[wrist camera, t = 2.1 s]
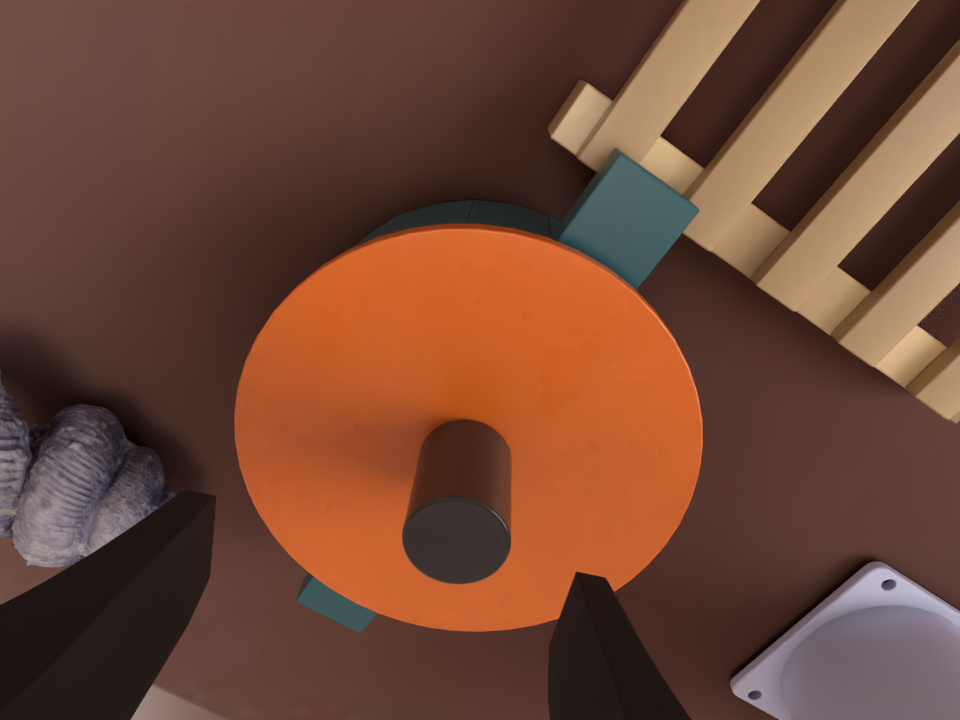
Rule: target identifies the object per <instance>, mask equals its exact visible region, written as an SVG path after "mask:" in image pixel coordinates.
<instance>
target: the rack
mask: <svg viewBox="0 0 960 720" xmlns="http://www.w3.org/2000/svg"><path fill="white" fill-rule="evenodd" d="M759 1H760V0H683V1H682V3H681V4H680V6H679V7H678V9H677V10H676V12H675V13H674V14H673V16H672V17H671V19H670V20H669V22H668V23H667V24H666V26H665V27H664V29H663V30H662V32H661V33H660V34H659V36H658V37H657V39H656V40H655V42H654V43H653V44H652V46H651V47H650V49H649V50H648V52H647V53H646V54H645V56H644V57H643V59H642V60H641V62H640V63H639V64H638V66H637V67H636V69H635V70H634V72H633V73H632V75H631V76H630V77H629V79H628V80H627V82H626V83H625V85H624V86H623V87H622V89H621V90H620V92H619V93H618V95H617V96H616V97H615V99H614V100H613V101H612V100H610V99H609V98H608V97H606V96H605V95H604V94H602V93H601V92H600V91H598V90H597V89H596V88H594V87H593V86H591V85H590V84H589V83H587V82H585V81H584V80H582V79H580V80H579V81H578V82H577V84H576V85H575V87H574V88H573V90H572V91H571V93H570V94H569V96H568V97H567V99H566V100H565V102H564V103H563V105H562V106H561V108H560V109H559V111H558V112H557V114H556V115H555V117H554V118H553V120H552V121H551V123H550V124H549V126H548V128H547V129H548V132H549V135H550V137H551V139H553V140H554V141H555V142H557V143H558V144H560V145H561V146H562V147H564V148H565V149H567V150H568V151H570V152H571V153H572V154H574V155H575V156H576V157H577V158H578V160H579V161H581V162H582V163H583V164H585V165H586V166H588V167H589V168H590V169H592V170H593V171H595V172H596V173H597V171H598V170H599V169H600V167H601V166H602V164H603V163H604V162H605V160H606V159H607V157H608V156H609V155H610V153H611V152H612V150H613V149H614V148H618V149H619V150H621V151H622V152H623V153H625V154H626V155H627V156H629V157H630V158H632V159H633V160H634V161H636V162H637V163H639V164H640V165H641V166H643V167H644V168H646V169H647V170H648V171H650V172H651V173H652V174H654V175H655V176H657V177H658V178H659V179H661V180H662V181H664V182H665V183H666V184H668V185H669V186H671V187H672V188H673V189H675V190H676V191H677V192H679V193H680V194H682V195H683V196H684V197H686V198H687V199H689V200H690V201H691V202H692V203H693V204H694V205H695V206H697V207H698V208H699V210H700V211H699V213H698V214H697V215H696V216H695V218H694V219H693V220H692V221H691V223H690V224H689V225H688V226H687V228H686V229H685V230H684V231H683V234H684V235H685V236H687V237H688V238H690V239H691V240H692V241H694V242H695V243H697V244H698V245H700V246H701V247H702V248H704V249H705V250H707V251H711V252H712V253H714V254H715V255H717V256H718V257H719V258H721V259H722V260H724V261H725V262H727V263H728V264H729V265H731V266H732V267H734V268H735V269H736V270H738V271H739V272H741V273H742V274H744V275H745V276H746V277H748V278H749V279H751V281H752V282H753V283H754V284H755V285H756V286H757V287H759V288H760V289H762V290H763V291H765V292H766V293H767V294H769V295H770V296H772V297H773V298H774V299H776V300H777V301H779V302H780V303H782V304H783V305H784V306H786V307H787V308H789V309H790V310H791V311H796V312H797V313H799V314H800V315H802V316H803V317H804V318H806V319H807V320H809V321H810V322H811V323H813V324H814V325H816V326H817V327H818V328H820V329H821V330H823V331H824V332H826V333H827V334H828V335H830V336H831V337H832V338H833V339H834V340H835V341H836V342H837V343H838V344H840V345H841V346H843V347H844V348H845V349H847V350H848V351H850V352H851V353H852V354H854V355H855V356H857V357H858V358H860V359H861V360H862V361H864V362H865V363H867V364H868V365H869V366H871V367H875V368H876V369H878V370H879V371H881V372H882V373H884V374H885V375H886V376H888V377H889V378H891V379H892V380H893V381H895V382H896V383H898V384H899V385H901V386H902V387H903V388H905V389H906V390H907V391H908V392H909V393H910V394H911V395H913V396H914V397H915V398H916V399H918V400H919V401H920V402H922V403H923V404H925V405H926V406H927V407H929V408H930V409H932V410H933V411H935V412H936V413H937V414H939V415H940V416H942V417H943V418H944V419H947V420H950V421H951V422H953V423H957V422H958V421H960V337H958V338H957V339H956V340H955V341H954V342H953V343H952V344H951V345H950V346H949V347H946V346H945V345H944V344H942V343H941V342H940V341H938V340H937V339H935V338H934V337H933V336H931V335H930V334H929V333H927V332H926V331H925V330H923V329H922V328H920V327H919V326H918V325H917V324H918V323H919V322H920V321H921V320H922V319H923V318H924V317H925V316H926V315H927V314H928V313H929V312H931V311H932V310H933V309H934V308H935V307H936V306H937V305H938V304H939V303H940V302H941V301H942V300H943V299H944V298H945V297H946V296H947V295H948V294H949V293H950V292H951V291H952V290H953V289H954V288H955V287H956V286H957V285H958V284H959V283H960V201H959V202H958V203H957V204H956V205H955V206H954V207H953V208H952V209H951V210H950V211H949V212H948V213H947V214H946V215H945V216H944V217H943V218H942V219H941V220H940V221H939V222H938V223H937V224H936V226H935V227H934V228H933V229H932V230H931V231H930V232H929V233H928V234H927V235H926V236H925V237H924V238H923V239H922V240H921V241H920V242H919V243H918V244H917V245H916V246H915V247H914V248H913V249H912V250H911V251H910V253H909V254H908V255H907V256H906V257H905V258H904V259H903V260H902V261H901V262H900V263H899V264H898V265H897V266H896V267H895V268H894V269H893V270H892V271H891V272H890V273H889V274H888V275H887V276H886V277H885V279H884V280H883V281H882V282H881V283H880V284H879V285H878V286H877V287H876V288H875V289H874V290H873V291H870V290H869V289H867V288H866V287H865V286H863V285H862V284H861V283H859V282H858V281H857V280H855V279H854V278H852V277H851V276H850V275H848V274H847V273H846V272H844V271H843V270H842V269H840V268H839V267H838V266H837V265H838V264H839V263H840V262H841V261H842V260H843V259H844V258H845V257H846V255H847V254H848V253H849V252H850V251H851V250H852V249H853V248H854V247H855V246H856V245H857V244H858V242H859V241H860V240H861V239H862V238H863V237H864V236H865V235H866V234H867V233H868V232H869V231H870V229H871V228H872V227H873V226H874V225H875V224H876V223H877V222H878V221H879V220H880V219H881V218H882V216H883V215H884V214H885V213H886V212H887V211H888V210H889V209H890V208H891V207H892V206H893V205H894V203H895V202H896V201H897V200H898V199H899V198H900V197H901V196H902V195H903V194H904V193H905V192H906V190H907V189H908V188H909V187H910V186H911V185H912V184H913V183H914V182H915V181H916V180H917V179H918V177H919V176H920V175H921V174H922V173H923V172H924V171H925V170H926V169H927V168H928V167H929V166H930V164H931V163H932V162H933V161H934V160H935V159H936V158H937V157H938V156H939V155H940V154H941V153H942V151H943V150H944V149H945V148H946V147H947V146H948V145H949V144H950V143H951V142H952V141H953V140H954V138H955V137H956V136H957V135H958V134H959V133H960V39H959V40H958V41H957V42H956V43H955V45H954V46H953V47H952V48H951V49H950V50H949V51H948V53H947V54H946V55H945V56H944V57H943V58H942V59H941V61H940V62H939V63H938V64H937V65H936V66H935V67H934V69H933V70H932V71H931V72H930V73H929V74H928V75H927V77H926V78H925V79H924V80H923V81H922V82H921V83H920V85H919V86H918V87H917V88H916V89H915V90H914V91H913V93H912V94H911V95H910V96H909V97H908V98H907V100H906V101H905V102H904V103H903V104H902V105H901V106H900V108H899V109H898V110H897V111H896V112H895V113H894V114H893V116H892V117H891V118H890V119H889V120H888V121H887V122H886V124H885V125H884V126H883V127H882V128H881V129H880V130H879V132H878V133H877V134H876V135H875V136H874V137H873V138H872V140H871V141H870V142H869V143H868V144H867V145H866V146H865V148H864V149H863V150H862V151H861V152H860V153H859V154H858V156H857V157H856V158H855V159H854V160H853V161H852V163H851V164H850V165H849V166H848V167H847V168H846V169H845V171H844V172H843V173H842V174H841V175H840V176H839V177H838V179H837V180H836V181H835V182H834V183H833V184H832V185H831V187H830V188H829V189H828V190H827V191H826V192H825V193H824V195H823V196H822V197H821V198H820V199H819V200H818V201H817V203H816V204H815V205H814V206H813V207H812V208H811V209H810V211H809V212H808V213H807V214H806V215H805V216H804V218H803V219H802V220H801V221H800V222H799V223H798V224H797V226H796V227H795V228H794V229H793V230H792V231H791V232H790V231H789V230H787V229H786V228H785V227H783V226H782V225H780V224H779V223H778V222H776V221H775V220H774V219H772V218H771V217H770V216H768V215H767V214H765V213H764V212H763V211H761V210H760V209H759V208H757V207H756V206H755V205H753V204H752V203H751V202H752V201H753V200H754V199H755V197H756V196H757V195H758V194H759V193H760V191H761V190H762V189H763V188H764V187H765V185H766V184H767V183H768V182H769V180H770V179H771V178H772V177H773V176H774V174H775V173H776V172H777V171H778V170H779V168H780V167H781V166H782V165H783V164H784V162H785V161H786V160H787V159H788V158H789V156H790V155H791V154H792V153H793V152H794V150H795V149H796V148H797V147H798V146H799V144H800V143H801V142H802V141H803V140H804V138H805V137H806V136H807V135H808V134H809V132H810V131H811V130H812V129H813V128H814V126H815V125H816V124H817V123H818V122H819V120H820V119H821V118H822V117H823V116H824V114H825V113H826V112H827V111H828V110H829V108H830V107H831V106H832V105H833V103H834V102H835V101H836V100H837V99H838V97H839V96H840V95H841V94H842V93H843V91H844V90H845V89H846V88H847V87H848V85H849V84H850V83H851V82H852V81H853V79H854V78H855V77H856V76H857V75H858V73H859V72H860V71H861V70H862V69H863V67H864V66H865V65H866V64H867V63H868V61H869V60H870V59H871V58H872V57H873V55H874V54H875V53H876V52H877V51H878V49H879V48H880V47H881V46H882V45H883V43H884V42H885V41H886V40H887V39H888V37H889V36H890V35H891V34H892V33H893V31H894V30H895V29H896V28H897V27H898V25H899V24H900V23H901V22H902V20H903V19H904V18H905V17H906V16H907V14H908V13H909V12H910V11H911V10H912V8H913V7H914V6H915V5H916V4H917V2H918V1H919V0H837V1H836V3H835V4H834V5H833V6H832V8H831V9H830V10H829V11H828V13H827V14H826V15H825V17H824V18H823V19H822V20H821V22H820V23H819V24H818V25H817V27H816V28H815V29H814V31H813V32H812V33H811V34H810V36H809V37H808V38H807V39H806V41H805V42H804V43H803V45H802V46H801V47H800V48H799V50H798V51H797V52H796V54H795V55H794V56H793V57H792V59H791V60H790V61H789V62H788V64H787V65H786V66H785V68H784V69H783V70H782V71H781V73H780V74H779V75H778V76H777V78H776V79H775V80H774V82H773V83H772V84H771V85H770V87H769V88H768V89H767V90H766V92H765V93H764V94H763V96H762V97H761V98H760V99H759V101H758V102H757V103H756V104H755V106H754V107H753V108H752V110H751V111H750V112H749V113H748V115H747V116H746V117H745V118H744V120H743V121H742V122H741V124H740V125H739V126H738V127H737V129H736V130H735V131H734V132H733V134H732V135H731V136H730V138H729V139H728V140H727V141H726V143H725V144H724V145H723V146H722V148H721V149H720V150H719V152H718V153H717V154H716V155H715V157H714V158H713V159H712V160H711V162H710V163H709V164H708V166H707V167H706V168H705V169H704V168H703V167H702V166H700V165H699V164H698V163H696V162H695V161H693V160H692V159H691V158H689V157H688V156H687V155H685V154H684V153H683V152H681V151H680V150H678V149H677V148H676V147H674V146H673V145H672V144H670V143H669V142H668V141H666V140H665V139H664V138H662V137H661V136H660V135H661V134H662V132H663V131H664V130H665V128H666V127H667V125H668V124H669V123H670V121H671V120H672V119H673V117H674V116H675V115H676V113H677V112H678V111H679V109H680V108H681V107H682V105H683V104H684V103H685V101H686V100H687V99H688V97H689V96H690V94H691V93H692V92H693V90H694V89H695V88H696V86H697V85H698V84H699V82H700V81H701V80H702V78H703V77H704V76H705V74H706V73H707V72H708V70H709V69H710V68H711V66H712V65H713V63H714V62H715V61H716V59H717V58H718V57H719V55H720V54H721V53H722V51H723V50H724V49H725V47H726V46H727V45H728V43H729V42H730V41H731V39H732V38H733V37H734V35H735V34H736V32H737V31H738V30H739V28H740V27H741V26H742V24H743V23H744V22H745V20H746V19H747V18H748V16H749V15H750V14H751V12H752V11H753V10H754V8H755V7H756V6H757V4H758V3H759Z"/></svg>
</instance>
